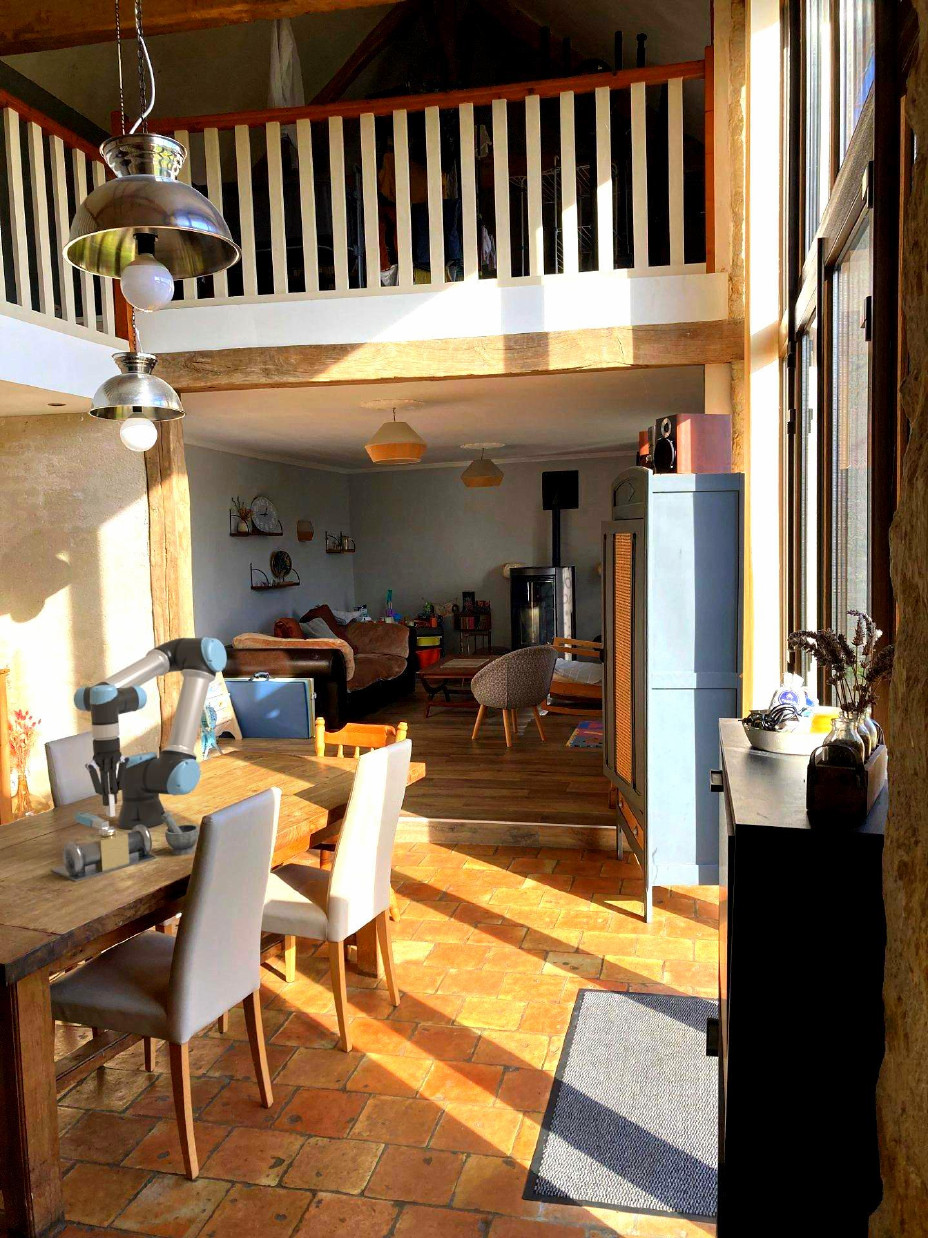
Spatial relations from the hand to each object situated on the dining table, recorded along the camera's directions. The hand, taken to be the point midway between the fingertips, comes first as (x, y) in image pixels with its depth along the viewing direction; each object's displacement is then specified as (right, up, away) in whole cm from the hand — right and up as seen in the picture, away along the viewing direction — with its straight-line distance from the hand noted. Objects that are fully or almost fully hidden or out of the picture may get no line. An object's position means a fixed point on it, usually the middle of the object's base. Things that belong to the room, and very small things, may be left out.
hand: (110, 815), depth 276 cm
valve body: (+2, -12, -10) cm, 16 cm away
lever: (-2, -3, -7) cm, 8 cm away
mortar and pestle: (+21, -11, 0) cm, 24 cm away
